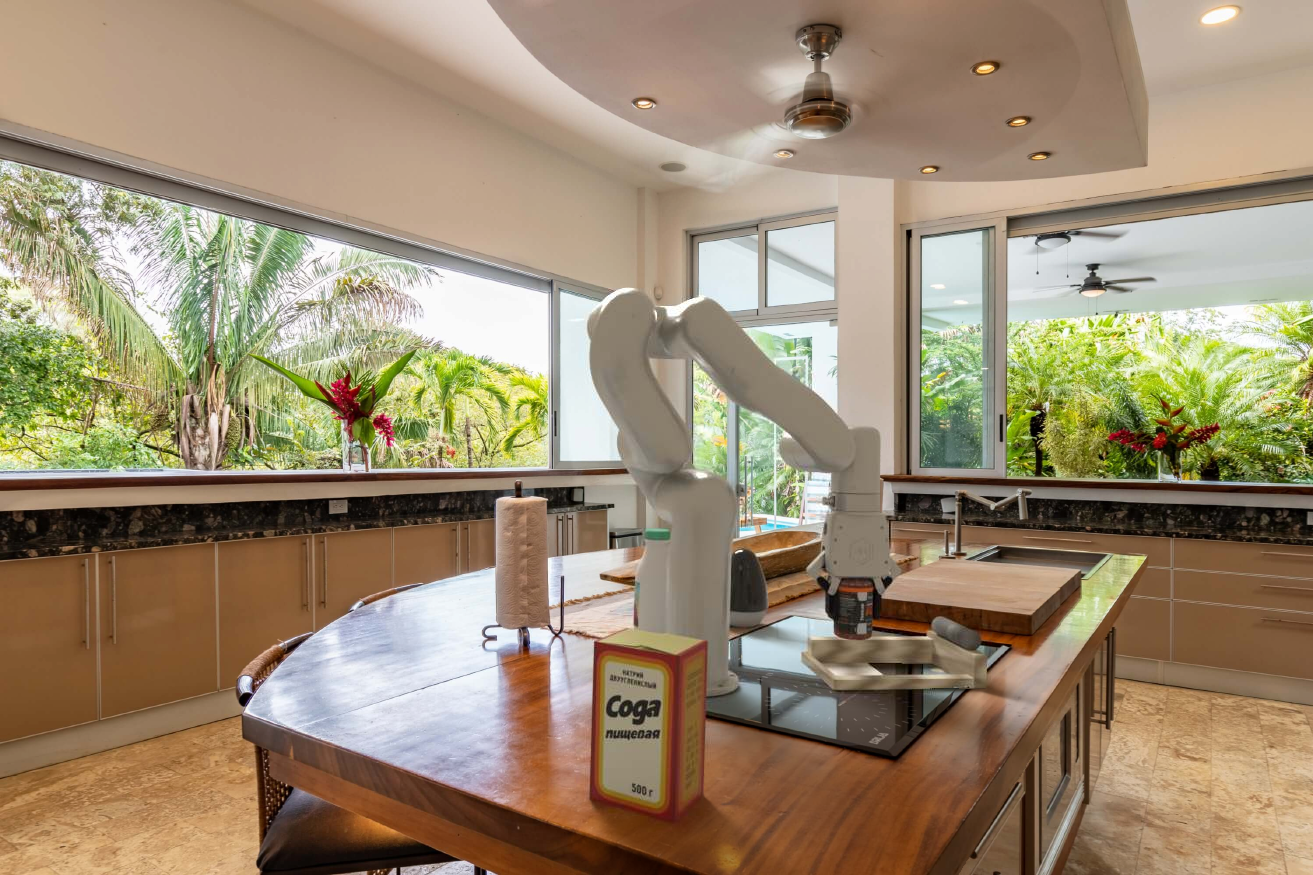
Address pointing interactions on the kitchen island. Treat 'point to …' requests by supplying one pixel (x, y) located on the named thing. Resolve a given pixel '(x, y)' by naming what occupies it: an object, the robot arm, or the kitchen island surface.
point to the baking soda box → (648, 722)
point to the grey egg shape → (747, 590)
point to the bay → (900, 659)
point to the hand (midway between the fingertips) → (853, 617)
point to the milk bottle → (652, 583)
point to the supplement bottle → (854, 609)
